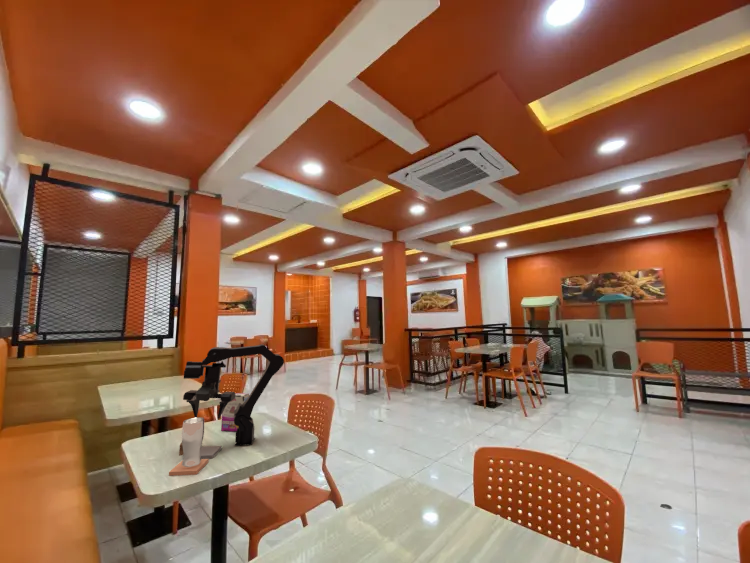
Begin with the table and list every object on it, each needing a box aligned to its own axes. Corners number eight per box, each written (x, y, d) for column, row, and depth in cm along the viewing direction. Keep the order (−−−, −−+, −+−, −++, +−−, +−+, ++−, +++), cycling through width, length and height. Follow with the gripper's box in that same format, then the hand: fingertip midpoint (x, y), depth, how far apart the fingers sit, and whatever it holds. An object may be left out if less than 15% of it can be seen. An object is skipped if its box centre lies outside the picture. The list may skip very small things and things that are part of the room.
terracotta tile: (208, 462, 116) (208, 458, 116) (196, 474, 107) (196, 470, 107) (182, 463, 115) (183, 459, 115) (168, 475, 106) (169, 471, 106)
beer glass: (175, 469, 108) (177, 423, 110) (187, 459, 115) (190, 417, 117) (195, 469, 108) (197, 423, 110) (206, 460, 115) (208, 417, 117)
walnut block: (193, 450, 127) (193, 439, 127) (190, 454, 123) (191, 443, 124) (181, 451, 126) (182, 441, 126) (179, 455, 122) (179, 444, 122)
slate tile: (221, 448, 128) (221, 445, 128) (212, 458, 119) (212, 455, 119) (198, 449, 127) (198, 446, 127) (187, 459, 118) (187, 456, 118)
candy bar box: (248, 428, 150) (249, 393, 152) (242, 432, 146) (243, 395, 147) (227, 427, 152) (228, 392, 154) (220, 431, 147) (222, 394, 149)
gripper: (178, 380, 123) (172, 423, 121) (227, 383, 124) (222, 424, 122) (192, 376, 134) (187, 414, 132) (237, 378, 135) (233, 416, 133)
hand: (207, 417), depth 129 cm, fingers open, 9 cm apart
